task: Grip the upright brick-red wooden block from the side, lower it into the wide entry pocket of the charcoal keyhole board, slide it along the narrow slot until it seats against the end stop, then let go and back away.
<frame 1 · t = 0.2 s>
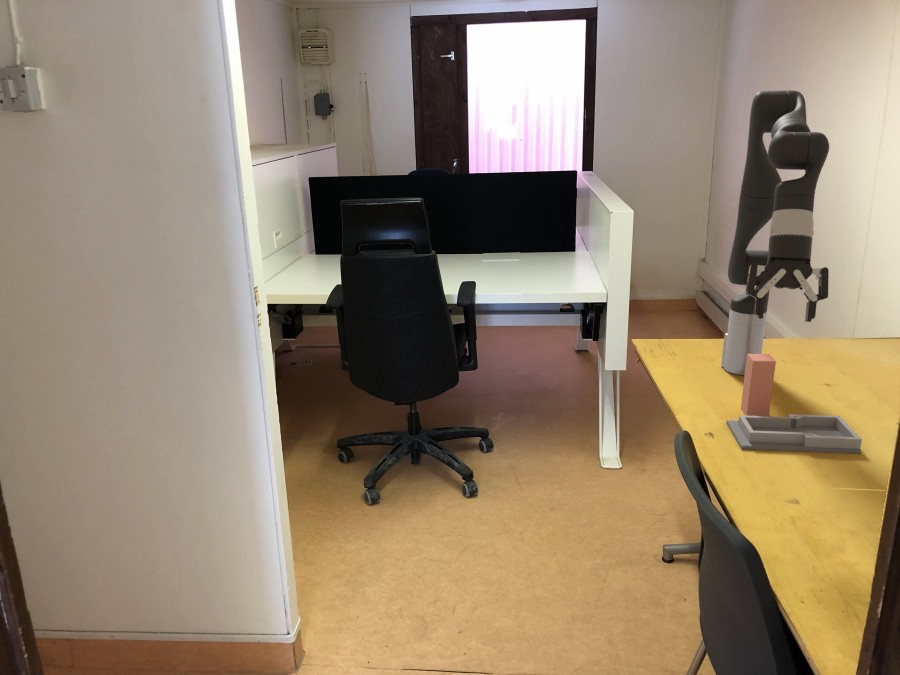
hand: (783, 320, 140), 30 cm above the table, tool tilted 20°, fingers open, 8 cm apart
block: (754, 413, 172), on the table
keyhole board: (790, 437, 159), on the table
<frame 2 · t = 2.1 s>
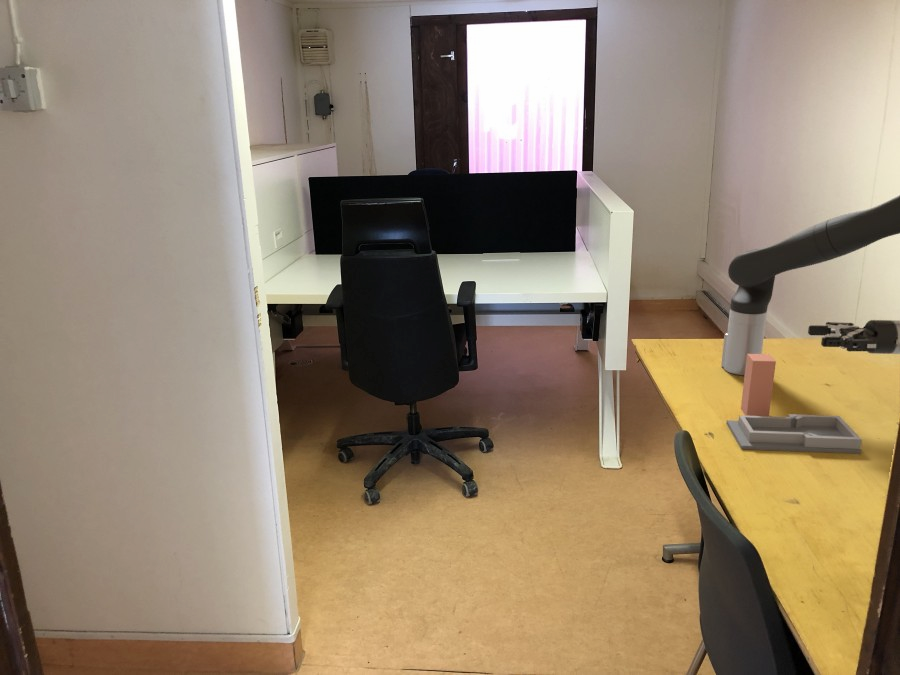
hand: (815, 335, 165), 19 cm above the table, tool horizontal, fingers open, 8 cm apart
nothing on the table moved.
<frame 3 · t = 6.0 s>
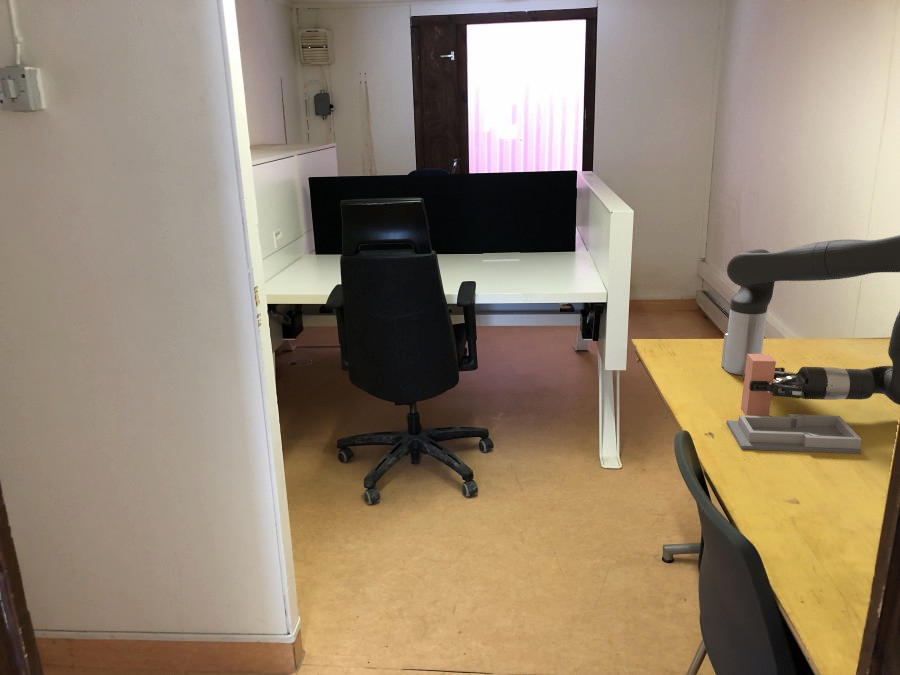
hand: (746, 381, 170), 8 cm above the table, tool horizontal, fingers closed on block, 5 cm apart
block: (754, 413, 172), on the table, touching gripper
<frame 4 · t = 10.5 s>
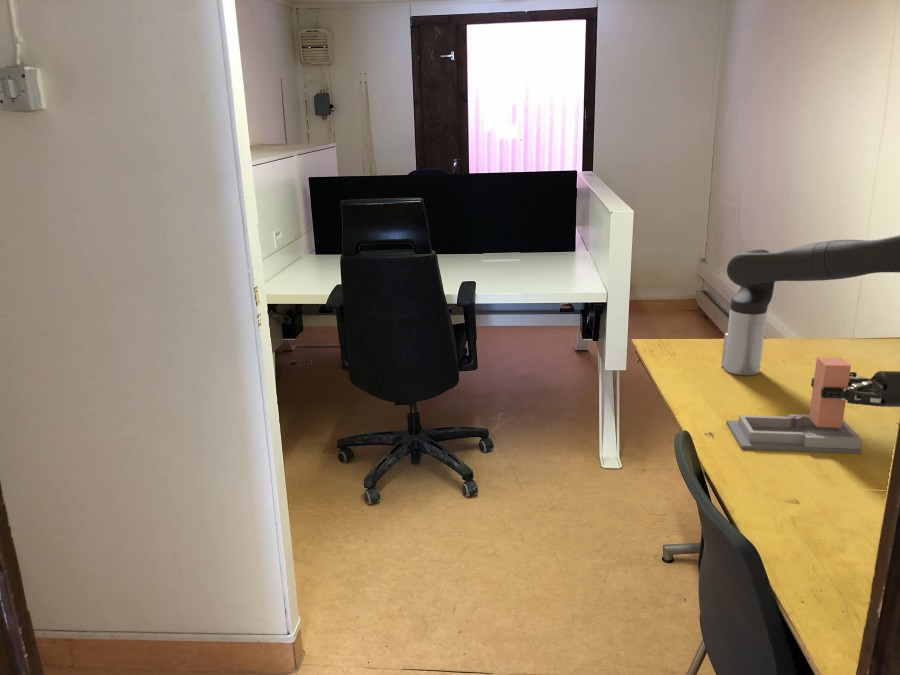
hand: (817, 387, 155), 12 cm above the table, tool horizontal, fingers closed on block, 5 cm apart
block: (825, 422, 157), point 4 cm above the table, touching gripper
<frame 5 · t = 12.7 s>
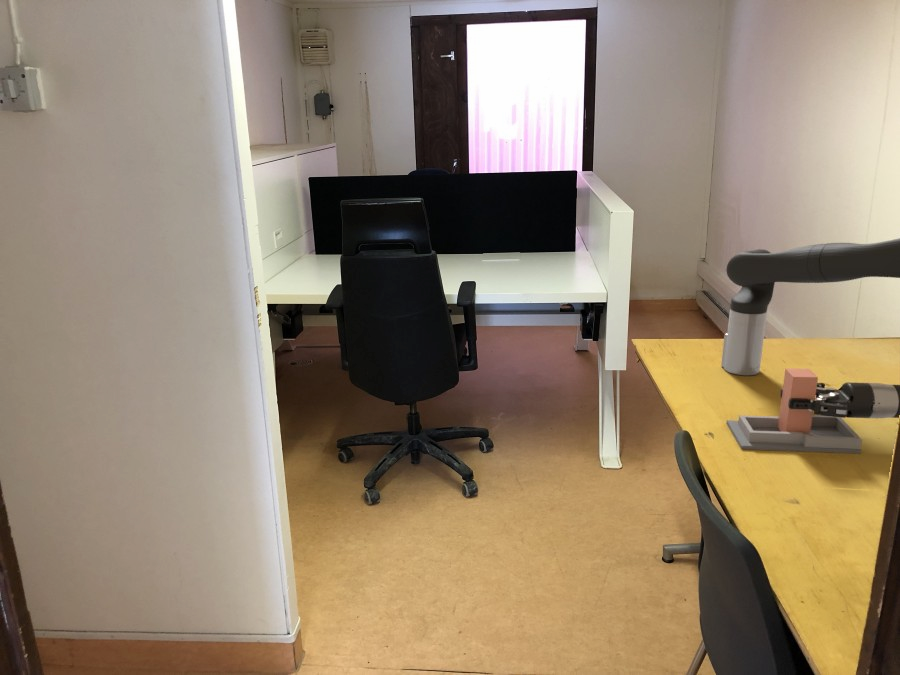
hand: (785, 398, 157), 9 cm above the table, tool horizontal, fingers closed on block, 5 cm apart
block: (793, 432, 159), point 1 cm above the table, touching gripper
when the fingers open (9 cm above the table, at t = 14.6 s): block stays where it is, resting on keyhole board.
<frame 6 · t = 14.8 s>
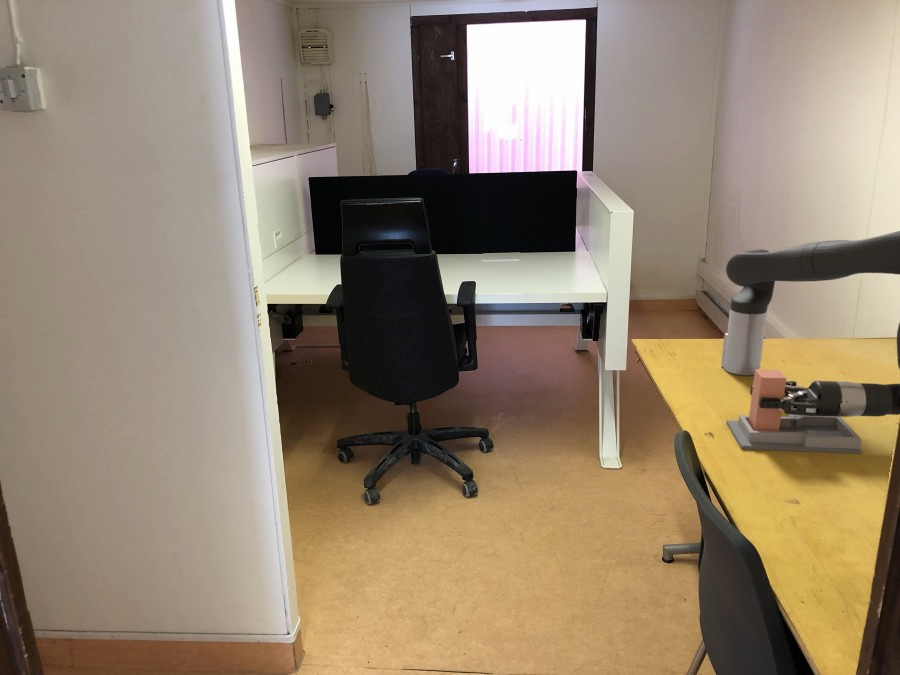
hand: (755, 396, 158), 9 cm above the table, tool horizontal, fingers open, 6 cm apart
block: (762, 433, 160), point 1 cm above the table, touching keyhole board
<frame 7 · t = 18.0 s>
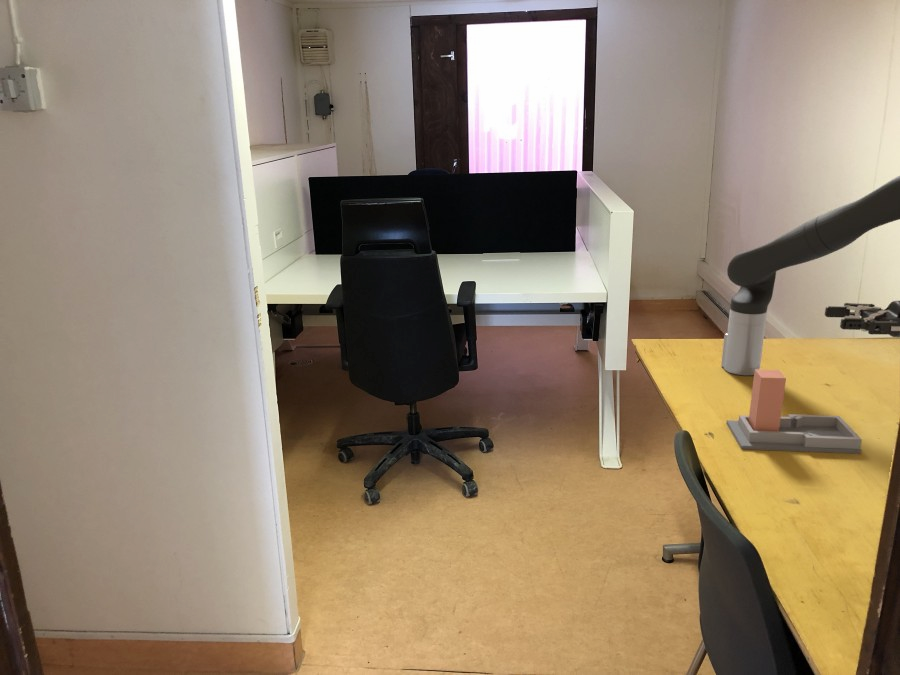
hand: (833, 317, 150), 28 cm above the table, tool horizontal, fingers open, 8 cm apart
nothing on the table moved.
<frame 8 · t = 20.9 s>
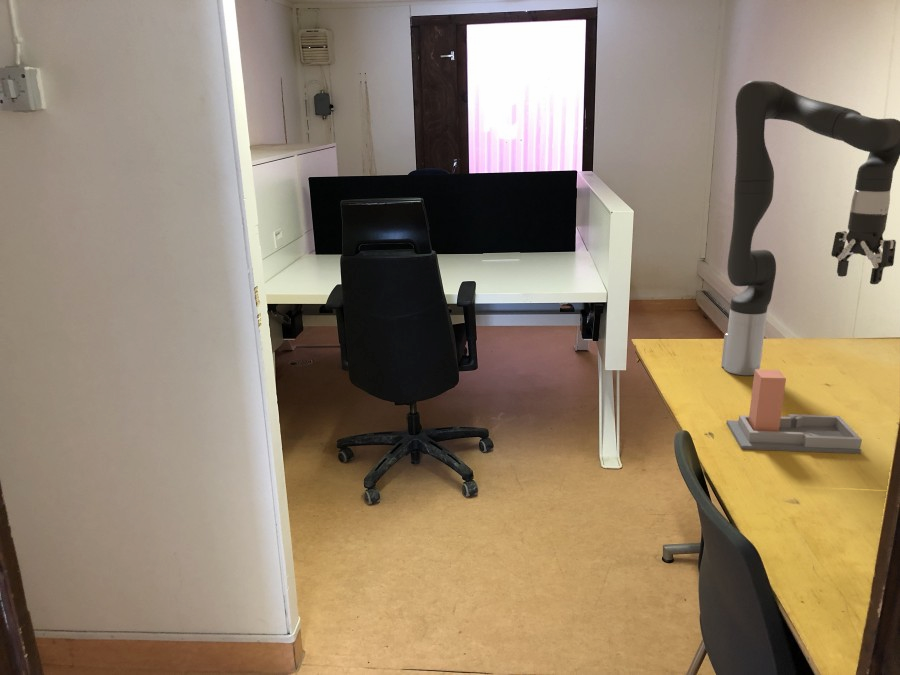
hand: (857, 279, 170), 30 cm above the table, tool pointing down, fingers open, 8 cm apart
nothing on the table moved.
at the end: block 0.1 cm from the target spot, point 0.8 cm above the table; block tilted 0°; the gripper is holding nothing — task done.
